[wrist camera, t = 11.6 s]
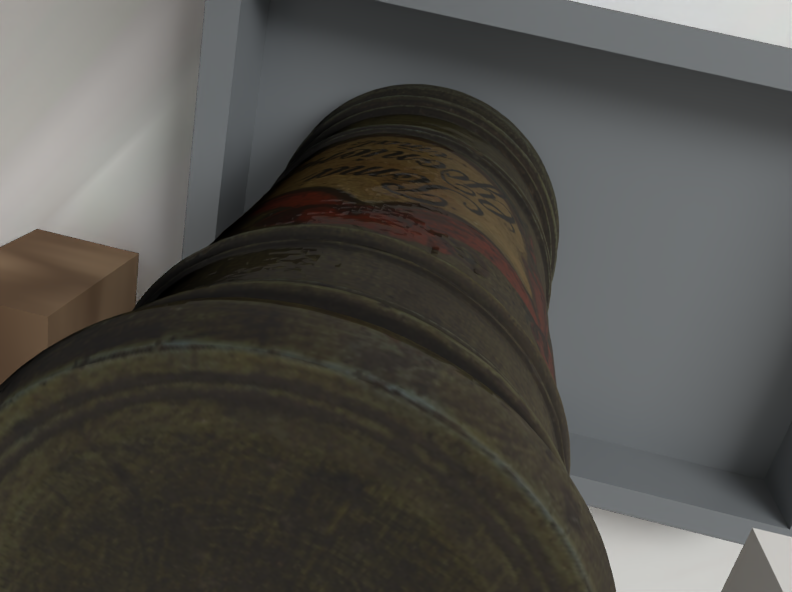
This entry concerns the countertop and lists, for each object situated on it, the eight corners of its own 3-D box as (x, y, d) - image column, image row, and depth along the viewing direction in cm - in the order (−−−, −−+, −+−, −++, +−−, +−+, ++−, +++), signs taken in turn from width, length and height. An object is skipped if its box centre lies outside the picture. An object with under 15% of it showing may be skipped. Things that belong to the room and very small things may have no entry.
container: (552, 345, 26) (629, 959, 10) (300, 339, 27) (-13, 872, 11) (563, 77, 23) (709, 312, 6) (276, 85, 24) (-233, 297, 8)
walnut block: (36, 323, 30) (-72, 398, 24) (37, 228, 28) (-78, 285, 23) (132, 347, 30) (46, 428, 24) (139, 253, 28) (47, 317, 22)
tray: (206, 355, 29) (168, 399, 26) (253, -66, 23) (212, -77, 20) (773, 495, 28) (808, 560, 25) (972, 88, 22) (1051, 104, 19)
